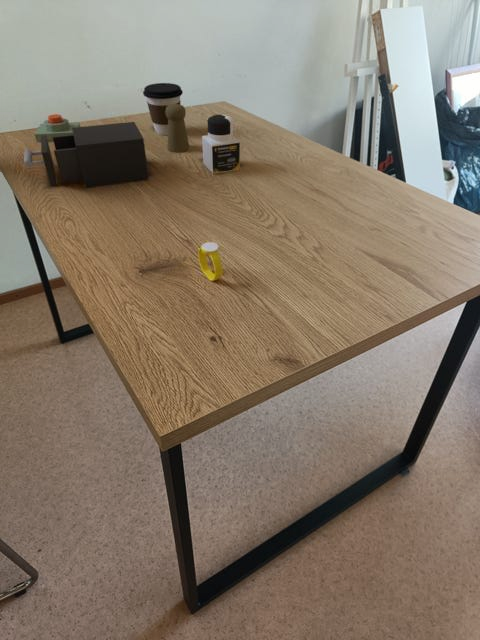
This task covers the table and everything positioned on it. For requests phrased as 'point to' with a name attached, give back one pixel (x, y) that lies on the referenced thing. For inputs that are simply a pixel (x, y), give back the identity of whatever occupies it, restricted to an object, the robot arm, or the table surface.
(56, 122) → the button
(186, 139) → the olive brown pawn
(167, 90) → the coffee cup
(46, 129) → the control block
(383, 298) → the table surface
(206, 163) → the medicine bottle
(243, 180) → the table surface
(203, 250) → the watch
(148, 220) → the table surface
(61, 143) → the drawer
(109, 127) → the black drawer box
